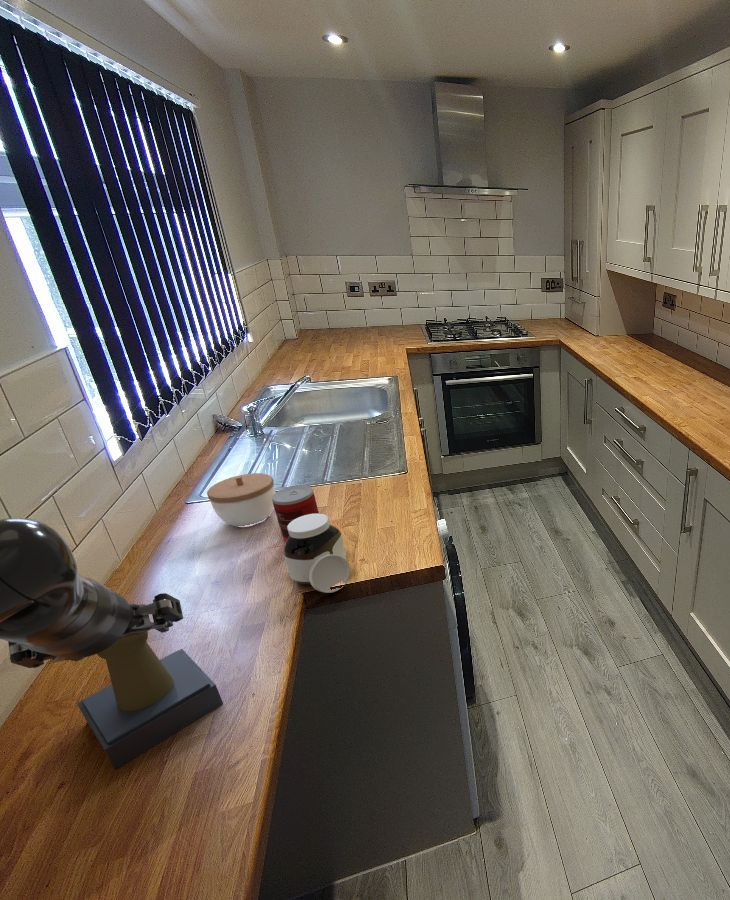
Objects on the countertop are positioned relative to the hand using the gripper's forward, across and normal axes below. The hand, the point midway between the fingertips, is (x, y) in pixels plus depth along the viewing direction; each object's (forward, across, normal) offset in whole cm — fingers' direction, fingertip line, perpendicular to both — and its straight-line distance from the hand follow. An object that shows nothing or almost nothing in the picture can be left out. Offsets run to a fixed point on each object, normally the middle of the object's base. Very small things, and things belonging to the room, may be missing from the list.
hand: (123, 637), depth 68 cm
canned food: (+36, -23, -18) cm, 47 cm away
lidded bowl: (+48, -14, -29) cm, 57 cm away
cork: (+6, 0, +7) cm, 9 cm away
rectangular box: (+9, 0, +9) cm, 13 cm away
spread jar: (+23, -25, -4) cm, 34 cm away
